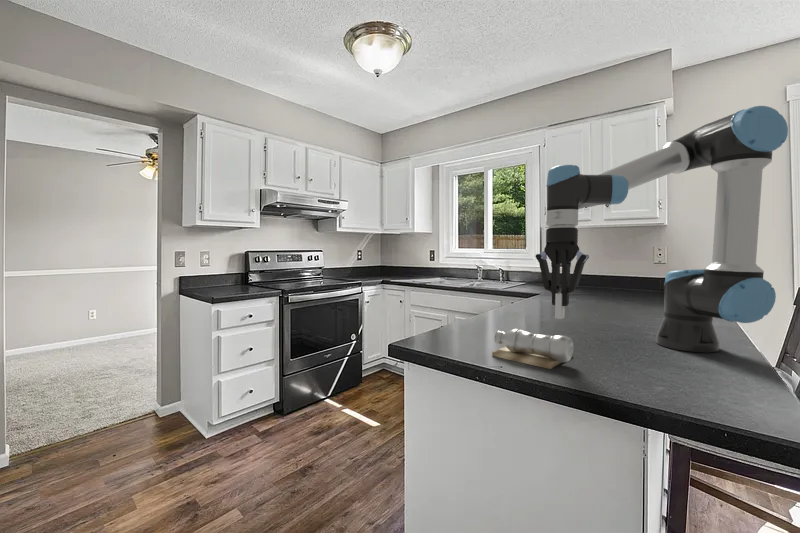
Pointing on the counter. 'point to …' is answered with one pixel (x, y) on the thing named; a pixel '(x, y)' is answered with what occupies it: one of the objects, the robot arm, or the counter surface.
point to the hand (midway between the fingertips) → (559, 318)
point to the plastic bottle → (536, 344)
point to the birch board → (526, 358)
